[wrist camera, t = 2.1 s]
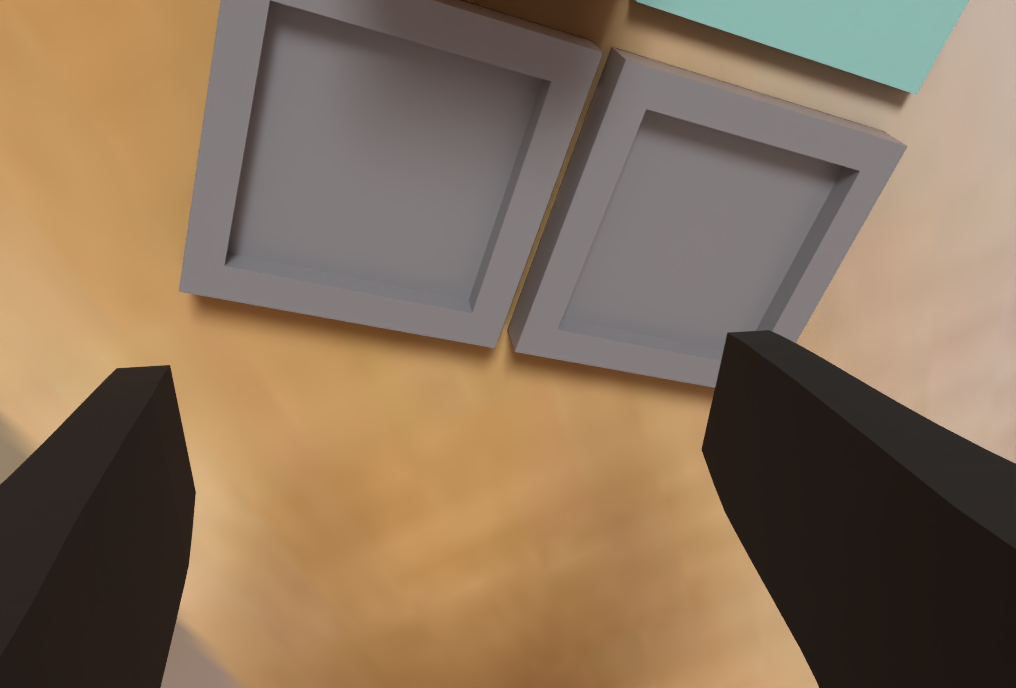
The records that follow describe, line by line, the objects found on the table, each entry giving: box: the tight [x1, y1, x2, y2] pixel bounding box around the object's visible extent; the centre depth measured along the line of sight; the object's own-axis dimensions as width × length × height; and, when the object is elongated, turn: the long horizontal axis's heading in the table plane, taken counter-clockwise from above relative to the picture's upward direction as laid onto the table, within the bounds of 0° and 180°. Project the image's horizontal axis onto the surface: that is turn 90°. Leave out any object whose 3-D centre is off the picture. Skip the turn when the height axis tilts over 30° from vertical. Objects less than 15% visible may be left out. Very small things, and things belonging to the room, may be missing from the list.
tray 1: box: [179, 0, 603, 348], centre depth 18 cm, size 7×7×1 cm
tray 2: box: [508, 47, 907, 388], centre depth 20 cm, size 7×7×1 cm
